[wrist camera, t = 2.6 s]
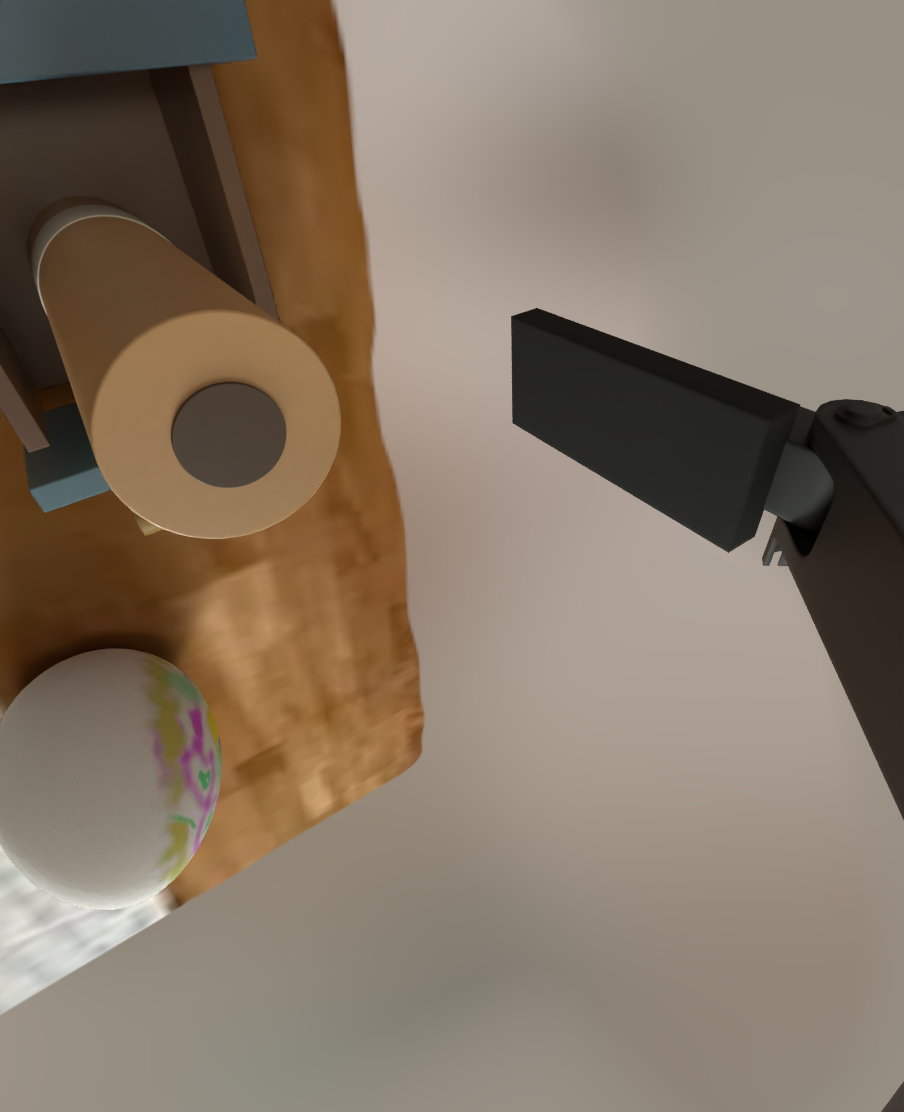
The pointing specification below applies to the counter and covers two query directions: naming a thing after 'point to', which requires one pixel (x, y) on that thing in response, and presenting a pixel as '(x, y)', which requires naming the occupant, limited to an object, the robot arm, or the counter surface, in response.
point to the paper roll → (180, 377)
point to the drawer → (131, 183)
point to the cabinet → (118, 36)
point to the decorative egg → (107, 777)
